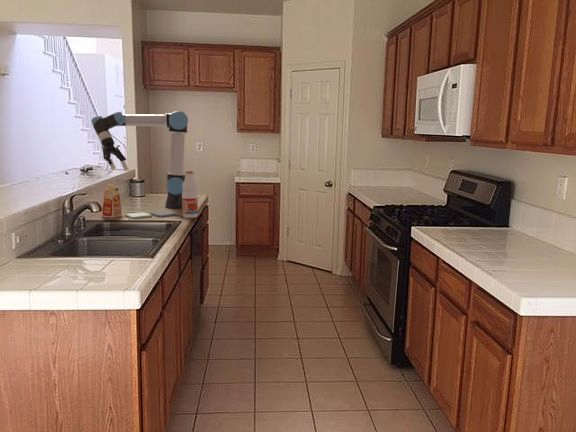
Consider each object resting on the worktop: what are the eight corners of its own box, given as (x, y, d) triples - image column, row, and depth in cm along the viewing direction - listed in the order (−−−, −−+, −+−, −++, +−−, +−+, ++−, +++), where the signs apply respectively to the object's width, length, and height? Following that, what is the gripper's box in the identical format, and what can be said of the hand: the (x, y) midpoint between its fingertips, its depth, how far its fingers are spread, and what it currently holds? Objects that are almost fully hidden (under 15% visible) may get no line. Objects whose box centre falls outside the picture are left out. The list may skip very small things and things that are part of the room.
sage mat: (143, 214, 306) (143, 212, 306) (151, 216, 297) (151, 214, 297) (124, 216, 298) (124, 214, 298) (133, 218, 289) (133, 217, 289)
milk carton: (101, 216, 294) (99, 184, 291) (111, 214, 303) (109, 182, 299) (114, 217, 292) (112, 184, 288) (123, 215, 300) (122, 183, 297)
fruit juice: (189, 215, 306) (188, 170, 301) (201, 216, 302) (200, 171, 297) (179, 217, 298) (178, 171, 293) (191, 218, 293) (190, 172, 288)
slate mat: (168, 212, 313) (168, 210, 312) (177, 215, 304) (177, 213, 304) (150, 214, 305) (150, 212, 305) (159, 217, 296) (159, 215, 296)
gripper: (113, 144, 317) (127, 173, 315) (88, 140, 293) (103, 171, 291) (122, 139, 315) (136, 168, 314) (98, 134, 291) (113, 165, 290)
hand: (120, 169), depth 303 cm, fingers open, 13 cm apart
